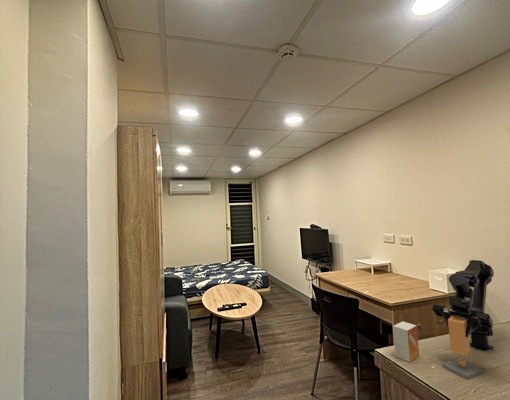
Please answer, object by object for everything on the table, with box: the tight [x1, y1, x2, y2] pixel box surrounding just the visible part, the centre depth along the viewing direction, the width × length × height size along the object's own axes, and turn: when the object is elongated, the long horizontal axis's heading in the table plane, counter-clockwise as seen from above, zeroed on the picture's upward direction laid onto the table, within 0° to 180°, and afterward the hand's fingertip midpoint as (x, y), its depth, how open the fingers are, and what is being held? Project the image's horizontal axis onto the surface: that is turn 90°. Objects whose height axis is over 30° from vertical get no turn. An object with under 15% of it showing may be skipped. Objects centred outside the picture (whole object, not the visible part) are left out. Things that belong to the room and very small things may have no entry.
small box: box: [392, 320, 420, 363], centre depth 115 cm, size 8×6×13 cm
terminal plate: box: [441, 357, 485, 380], centre depth 103 cm, size 10×9×4 cm
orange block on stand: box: [448, 315, 471, 357], centre depth 104 cm, size 5×5×12 cm
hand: (457, 334), depth 103 cm, fingers closed on orange block on stand, 5 cm apart
